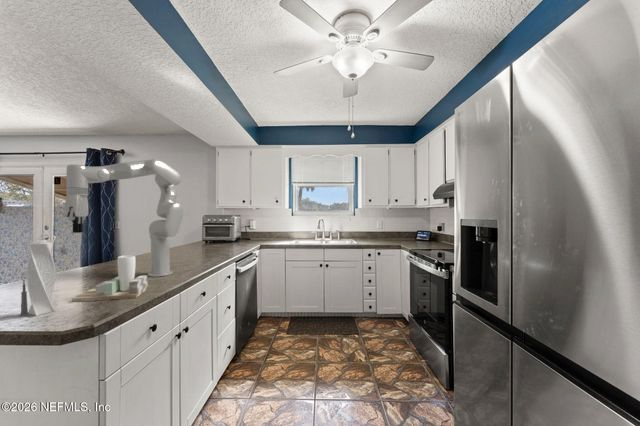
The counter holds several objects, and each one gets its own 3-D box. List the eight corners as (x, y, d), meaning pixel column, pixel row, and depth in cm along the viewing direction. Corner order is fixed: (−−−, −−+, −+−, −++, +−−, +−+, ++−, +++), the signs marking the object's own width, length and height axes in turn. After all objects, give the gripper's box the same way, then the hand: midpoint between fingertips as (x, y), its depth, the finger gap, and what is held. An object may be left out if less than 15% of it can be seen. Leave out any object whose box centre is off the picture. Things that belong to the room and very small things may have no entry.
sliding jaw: (107, 287, 132) (107, 277, 132) (124, 286, 133) (124, 276, 133) (92, 295, 119) (92, 284, 119) (112, 294, 121) (112, 283, 121)
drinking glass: (138, 289, 130) (138, 256, 130) (121, 292, 124) (121, 258, 124) (131, 287, 133) (131, 254, 133) (114, 290, 128) (114, 256, 127)
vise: (92, 291, 132) (92, 277, 131) (148, 288, 137) (148, 274, 137) (71, 302, 116) (71, 286, 116) (136, 297, 122) (135, 282, 122)
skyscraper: (48, 308, 110) (48, 235, 110) (61, 310, 107) (61, 235, 107) (19, 315, 102) (18, 237, 102) (32, 318, 99) (31, 237, 99)
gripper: (77, 193, 137) (77, 231, 137) (57, 191, 123) (57, 234, 123) (95, 193, 139) (95, 231, 139) (78, 191, 124) (78, 233, 125)
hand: (77, 232), depth 131 cm, fingers closed
